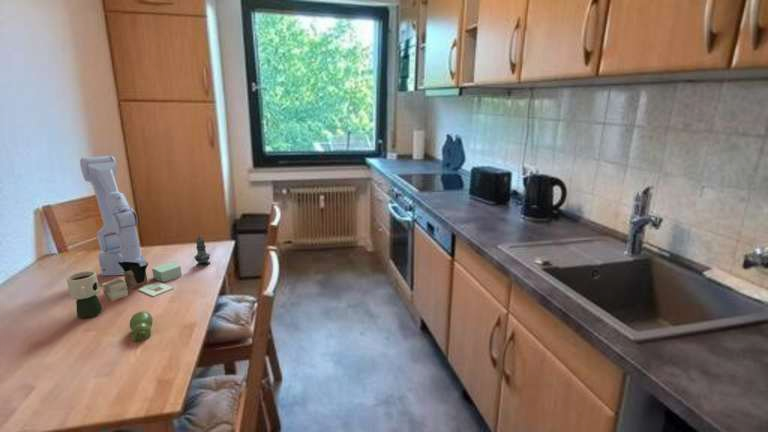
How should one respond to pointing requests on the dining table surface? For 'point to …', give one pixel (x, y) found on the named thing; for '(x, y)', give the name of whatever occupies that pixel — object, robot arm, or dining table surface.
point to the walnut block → (133, 279)
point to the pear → (141, 326)
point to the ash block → (115, 289)
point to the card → (155, 289)
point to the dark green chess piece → (201, 254)
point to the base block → (166, 271)
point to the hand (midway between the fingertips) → (136, 280)
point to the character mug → (85, 293)
